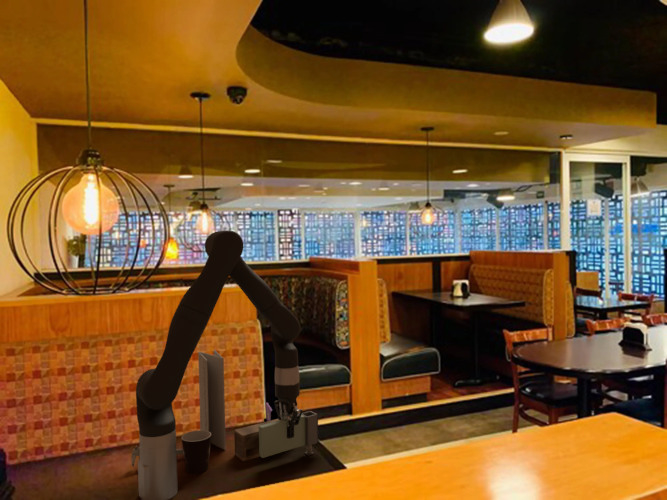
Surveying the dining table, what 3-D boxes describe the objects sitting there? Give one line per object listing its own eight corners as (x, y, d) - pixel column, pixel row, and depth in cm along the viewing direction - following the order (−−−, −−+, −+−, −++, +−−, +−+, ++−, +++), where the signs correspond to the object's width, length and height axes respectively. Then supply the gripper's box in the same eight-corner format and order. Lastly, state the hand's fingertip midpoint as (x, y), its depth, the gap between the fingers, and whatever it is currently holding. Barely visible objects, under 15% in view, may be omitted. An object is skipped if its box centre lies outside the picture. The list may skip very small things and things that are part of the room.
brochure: (200, 437, 175) (198, 351, 175) (216, 435, 178) (214, 349, 177) (208, 453, 162) (206, 360, 162) (225, 449, 165) (223, 358, 164)
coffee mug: (204, 476, 146) (203, 442, 146) (176, 474, 148) (175, 440, 148) (221, 459, 158) (220, 427, 157) (195, 457, 159) (194, 426, 159)
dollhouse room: (269, 431, 181) (268, 412, 181) (262, 419, 192) (262, 402, 192) (301, 426, 185) (301, 407, 184) (293, 415, 196) (293, 398, 196)
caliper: (132, 468, 152) (131, 447, 152) (131, 466, 153) (130, 446, 153) (200, 452, 161) (200, 433, 161) (200, 451, 162) (199, 432, 162)
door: (264, 459, 149) (263, 428, 148) (257, 454, 152) (256, 424, 152) (318, 442, 160) (317, 414, 160) (311, 438, 163) (310, 410, 163)
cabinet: (257, 472, 148) (256, 435, 148) (234, 455, 161) (234, 421, 160) (314, 454, 160) (313, 420, 160) (289, 439, 172) (288, 407, 172)
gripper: (265, 378, 159) (267, 432, 159) (288, 388, 148) (289, 446, 148) (286, 373, 163) (287, 427, 164) (309, 383, 152) (311, 440, 152)
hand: (288, 436), depth 156 cm, fingers closed on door, 2 cm apart
